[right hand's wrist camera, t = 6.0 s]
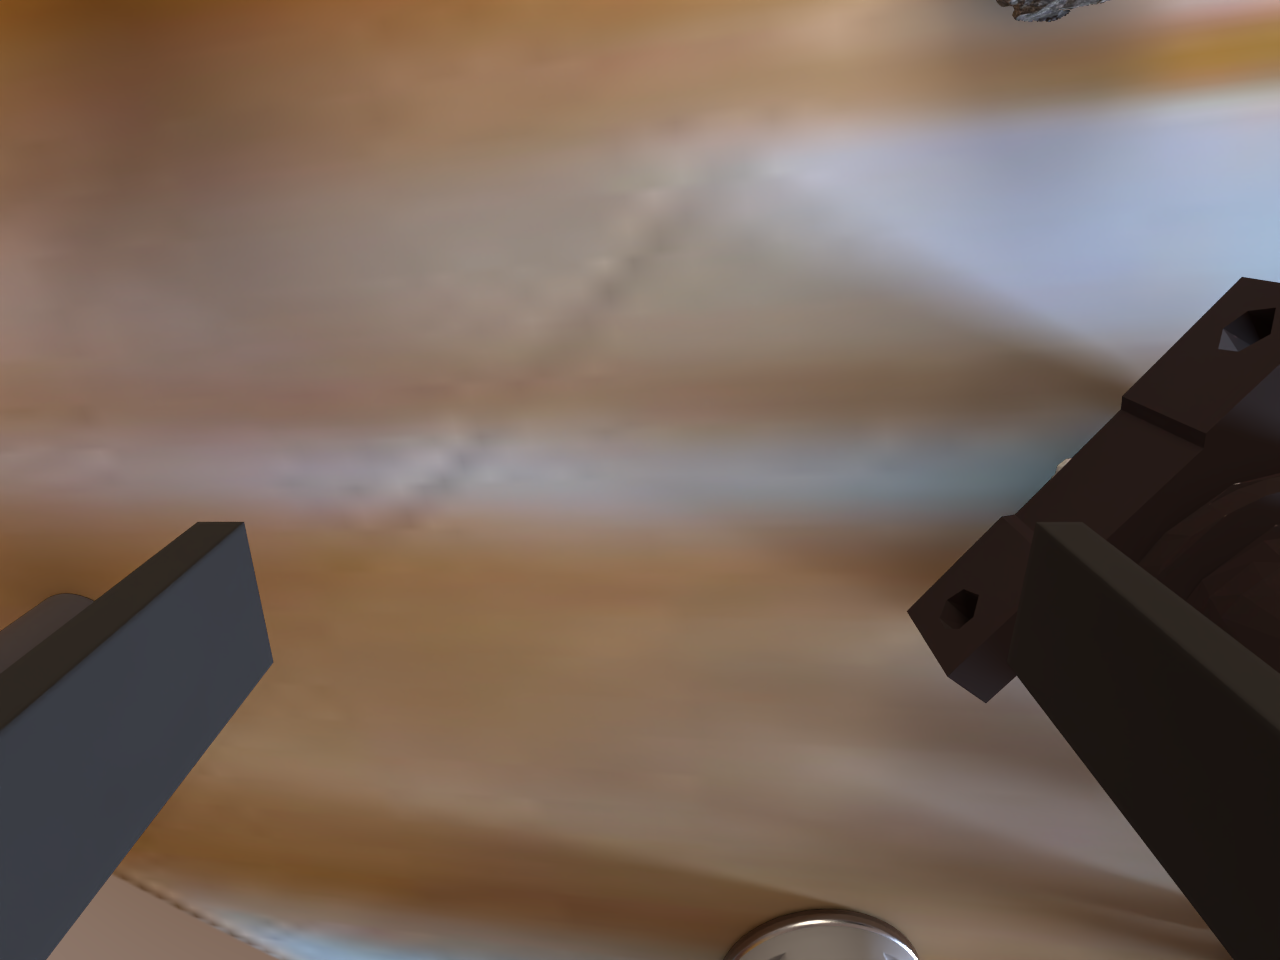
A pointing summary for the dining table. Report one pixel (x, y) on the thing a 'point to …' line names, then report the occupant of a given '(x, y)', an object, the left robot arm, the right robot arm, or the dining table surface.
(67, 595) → the bottle
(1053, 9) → the rock
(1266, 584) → the mechanical component
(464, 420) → the dining table surface
